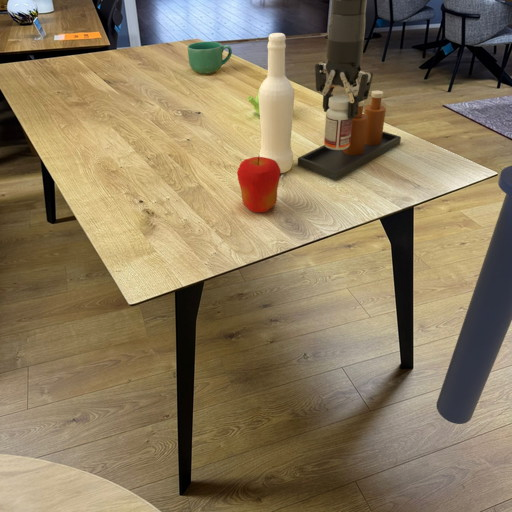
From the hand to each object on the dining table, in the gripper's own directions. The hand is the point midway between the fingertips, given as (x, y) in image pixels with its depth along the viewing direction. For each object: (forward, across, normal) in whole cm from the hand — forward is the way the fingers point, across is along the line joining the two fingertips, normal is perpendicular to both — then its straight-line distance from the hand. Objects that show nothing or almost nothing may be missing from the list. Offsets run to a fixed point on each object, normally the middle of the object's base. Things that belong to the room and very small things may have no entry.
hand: (339, 114), depth 110 cm
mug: (+12, +83, -32) cm, 90 cm away
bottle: (+12, +9, +12) cm, 19 cm away
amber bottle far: (+12, 0, -15) cm, 19 cm away
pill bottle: (+8, 0, 0) cm, 8 cm away
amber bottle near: (+12, 0, -7) cm, 14 cm away
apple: (+12, -1, +28) cm, 30 cm away
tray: (+12, 0, -6) cm, 14 cm away
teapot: (+12, +34, -13) cm, 39 cm away
